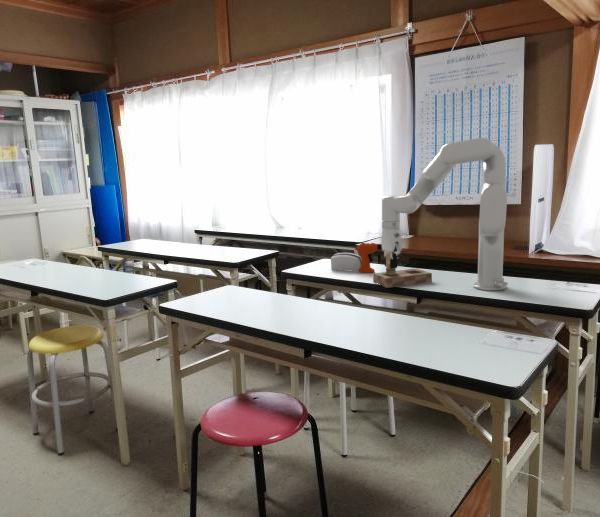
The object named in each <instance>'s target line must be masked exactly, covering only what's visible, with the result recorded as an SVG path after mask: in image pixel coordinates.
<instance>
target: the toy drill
mask: <svg viewBox="0 0 600 517" xmlns="http://www.w3.org/2000/svg"><path fill="white" fill-rule="evenodd" d="M380 250H382V243H375V242H371V243H369V242H368V243H367V242H361V243H360V244H359V245H358V246H357V247H356V253H358V255H359V256H361V260H362V263H361V268H359V271H358V273H359V272H360V273H359V274H373V273H372V272H374V273H376V272H375V269H374V268H372V267H371V263H372V262H373V261H374V258H373V257H372V255H371V254H373V253H375V252H377V251H380Z"/></svg>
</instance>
